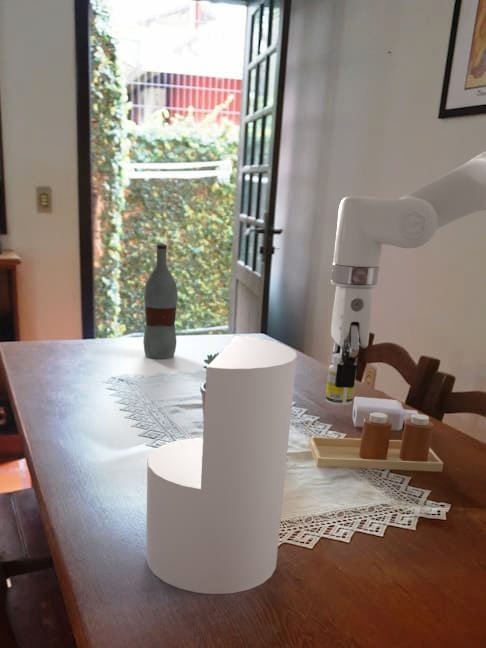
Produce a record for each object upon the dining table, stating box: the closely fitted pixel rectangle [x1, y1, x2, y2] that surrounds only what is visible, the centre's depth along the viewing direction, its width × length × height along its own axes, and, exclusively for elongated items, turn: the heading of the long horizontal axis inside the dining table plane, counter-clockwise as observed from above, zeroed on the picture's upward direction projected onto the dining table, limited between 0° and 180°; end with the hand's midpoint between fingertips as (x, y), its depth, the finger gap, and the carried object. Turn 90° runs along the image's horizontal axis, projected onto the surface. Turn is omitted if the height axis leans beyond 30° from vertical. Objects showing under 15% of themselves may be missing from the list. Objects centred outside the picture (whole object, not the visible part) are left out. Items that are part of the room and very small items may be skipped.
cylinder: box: [145, 334, 298, 595], centre depth 85 cm, size 17×17×28 cm
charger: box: [351, 396, 419, 432], centre depth 144 cm, size 5×9×15 cm
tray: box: [308, 436, 444, 472], centre depth 126 cm, size 22×11×2 cm, turn 90°
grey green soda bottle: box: [143, 243, 179, 360], centre depth 187 cm, size 9×9×30 cm
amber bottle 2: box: [399, 413, 435, 462], centre depth 124 cm, size 5×5×8 cm
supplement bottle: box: [325, 353, 357, 406], centre depth 120 cm, size 5×5×8 cm
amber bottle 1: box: [359, 412, 392, 460], centre depth 124 cm, size 5×5×8 cm
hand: (341, 381), depth 120 cm, fingers closed on supplement bottle, 4 cm apart
